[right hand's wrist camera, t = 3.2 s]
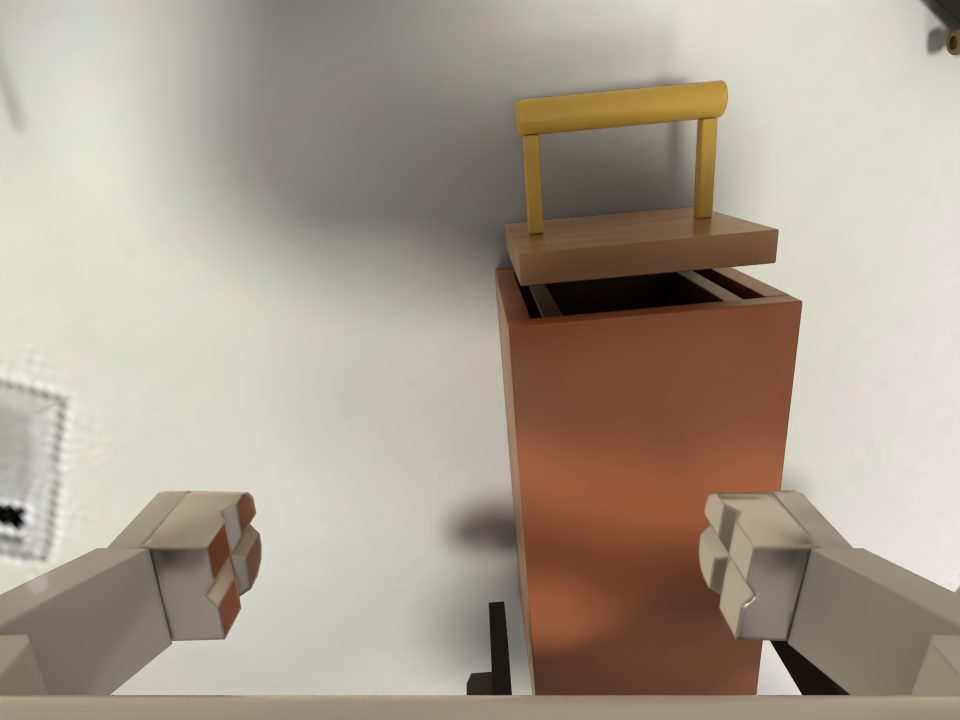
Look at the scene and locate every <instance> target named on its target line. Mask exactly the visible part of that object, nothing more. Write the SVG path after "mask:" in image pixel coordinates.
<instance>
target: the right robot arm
mask: <svg viewBox="0 0 960 720" xmlns="http://www.w3.org/2000/svg"><path fill="white" fill-rule="evenodd" d="M255 514H256V509H255V504H254V499H253V497H252V496H251V495H250V494H249V493H248V492H214V491H193V492H192V491H165V492H161V493H158V494H157V495H156V496H155V497H154V498H153V500H152V501H151V502H150V503H149V504H148V505H147V506H146V507H145V508H144V509H143V510H142V511H141V512H140V513H139V514H138V516H137V517H136V518H135V519H134V520H133V521H132V522H131V523H130V524H129V525H128V526H127V527H126V528H125V529H124V530H123V532H122V533H121V534H120V535H119V536H118V537H117V538H116V539H115V540H114V541H113V542H112V543H111V544H110V545H109V546H108V548H97V549H95V550H93V551H91V552H89V553H87V554H85V555H83V556H81V557H78V558H76V559H74V560H72V561H70V562H68V563H66V564H64V565H62V566H60V567H58V568H56V569H53V570H51V571H49V572H47V573H45V574H43V575H41V576H39V577H37V578H35V579H33V580H31V581H28V582H26V583H24V584H22V585H20V586H18V587H16V588H14V589H12V590H10V591H8V592H6V593H3V594H1V595H0V720H960V595H958V594H956V593H954V592H952V591H950V590H948V589H946V588H944V587H942V586H940V585H938V584H936V583H933V582H931V581H929V580H927V579H925V578H923V577H921V576H919V575H917V574H915V573H913V572H911V571H909V570H906V569H904V568H902V567H900V566H898V565H896V564H894V563H892V562H890V561H888V560H886V559H884V558H882V557H879V556H877V555H875V554H873V553H871V552H869V551H867V550H865V549H863V548H852V546H851V545H850V544H849V543H848V542H847V541H846V540H845V539H844V538H843V537H842V536H841V535H840V534H839V533H838V531H837V530H836V529H835V528H834V527H833V526H832V525H831V524H830V523H829V522H828V521H827V520H826V519H825V518H824V517H823V515H822V514H821V513H820V512H819V511H818V510H817V509H816V508H815V507H814V506H813V505H812V504H811V503H810V502H809V501H808V499H807V498H806V497H805V496H804V495H803V494H802V493H799V492H797V491H768V492H739V493H709V495H708V497H707V499H706V503H705V508H704V514H705V516H706V518H707V519H708V521H709V523H710V525H709V526H708V527H707V528H706V529H705V530H704V531H703V532H702V533H701V534H700V540H699V548H698V553H699V564H700V568H701V572H702V575H703V578H704V580H705V582H706V584H707V586H708V588H709V589H710V590H712V591H713V592H715V593H716V594H717V595H719V596H720V597H721V598H720V604H719V609H720V611H721V613H722V615H723V617H724V619H725V621H726V623H727V625H728V627H729V628H730V630H731V632H732V634H733V636H734V638H735V639H740V640H776V641H788V644H789V645H790V646H792V647H793V648H794V649H795V650H797V651H798V652H799V653H800V654H801V655H803V656H804V657H805V658H806V659H808V660H809V661H810V662H811V663H812V664H814V665H815V666H816V667H817V668H818V669H820V670H821V671H822V672H823V673H825V674H826V675H827V676H828V677H829V678H831V679H832V680H833V681H834V682H835V683H837V684H838V685H839V686H840V687H842V688H843V689H844V690H845V691H846V692H848V693H849V694H850V695H110V694H111V693H113V692H114V691H115V690H116V689H117V688H119V687H120V686H121V685H122V684H123V683H125V682H126V681H127V680H128V679H130V678H131V677H132V676H133V675H134V674H136V673H137V672H138V671H139V670H141V669H142V668H143V667H144V666H145V665H147V664H148V663H149V662H150V661H152V660H153V659H154V658H155V657H156V656H158V655H159V654H160V653H161V652H162V651H164V650H165V649H166V648H167V647H169V646H170V645H171V644H172V641H184V640H218V639H225V638H226V636H227V634H228V632H229V630H230V629H231V627H232V625H233V623H234V621H235V619H236V617H237V615H238V613H239V611H240V609H241V604H240V598H239V597H240V596H241V595H243V594H244V593H245V592H247V591H248V590H250V589H251V588H252V586H253V584H254V582H255V580H256V578H257V576H258V572H259V567H260V563H261V547H262V546H261V539H260V534H259V533H258V532H257V531H256V530H255V529H254V528H253V527H252V526H251V525H250V523H251V521H252V519H253V518H254V516H255Z"/></svg>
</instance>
